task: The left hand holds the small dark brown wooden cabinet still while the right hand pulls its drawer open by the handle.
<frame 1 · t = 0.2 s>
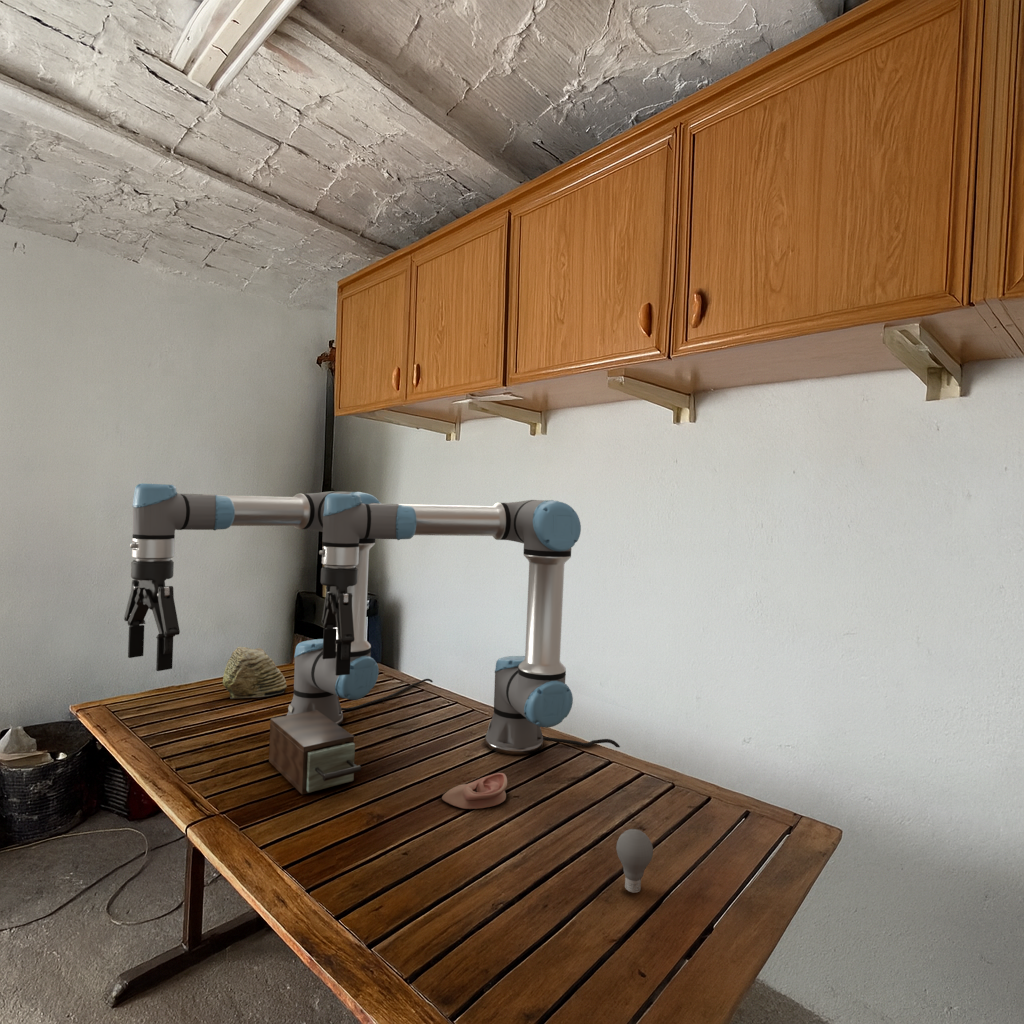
left hand: (149, 663, 129), 28 cm above the table, tool pointing down, fingers open, 13 cm apart
right hand: (335, 666, 134), 28 cm above the table, tool pointing down, fingers open, 13 cm apart
anatomical model: (474, 798, 136), on the table
fossil: (254, 694, 198), on the table
drawer: (319, 756, 142), point 5 cm above the table, slide at 0.7 cm
light bulb: (632, 891, 106), on the table
cabinet: (309, 771, 146), on the table
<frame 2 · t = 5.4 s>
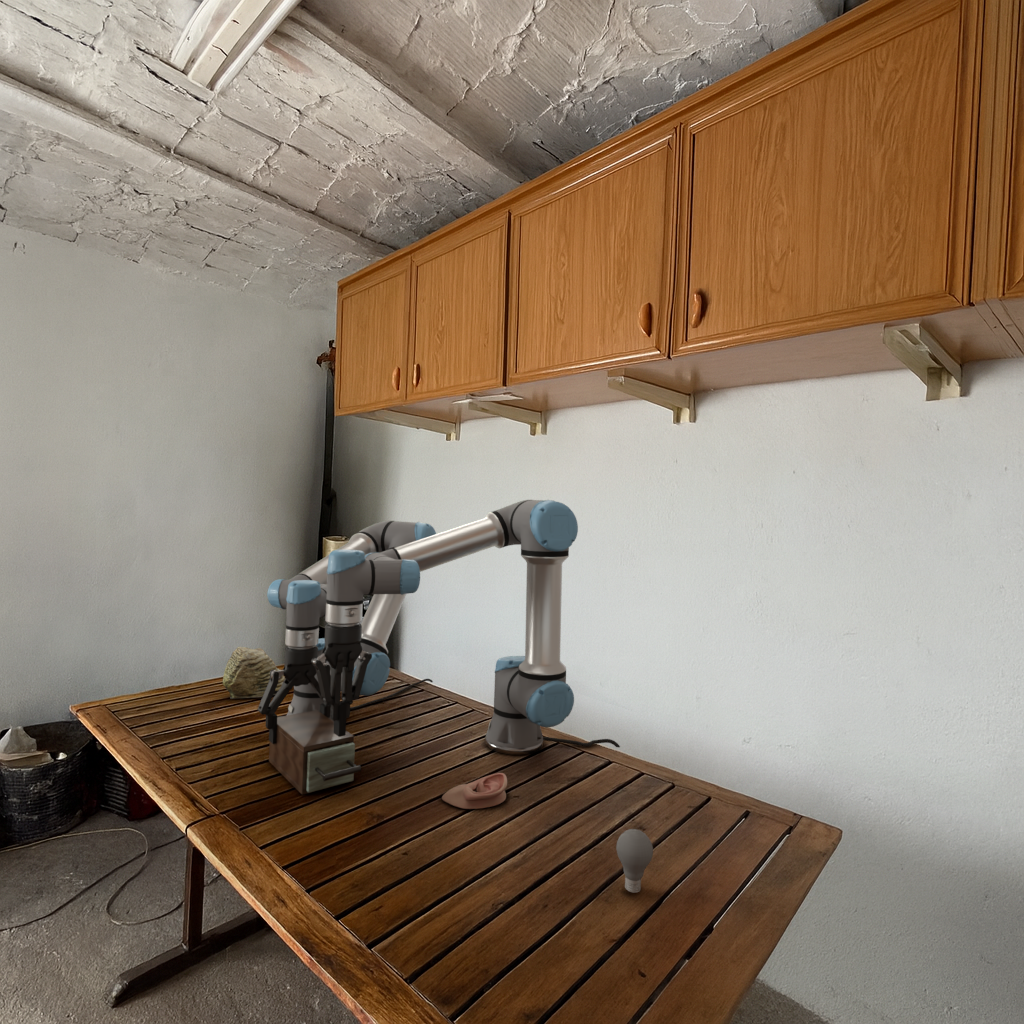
left hand: (298, 736, 151), 6 cm above the table, tool pointing down, fingers closed on cabinet, 11 cm apart
right hand: (339, 733, 134), 13 cm above the table, tool pointing down, fingers closed
cabinet: (309, 771, 146), on the table, touching left hand
everything else where it was.
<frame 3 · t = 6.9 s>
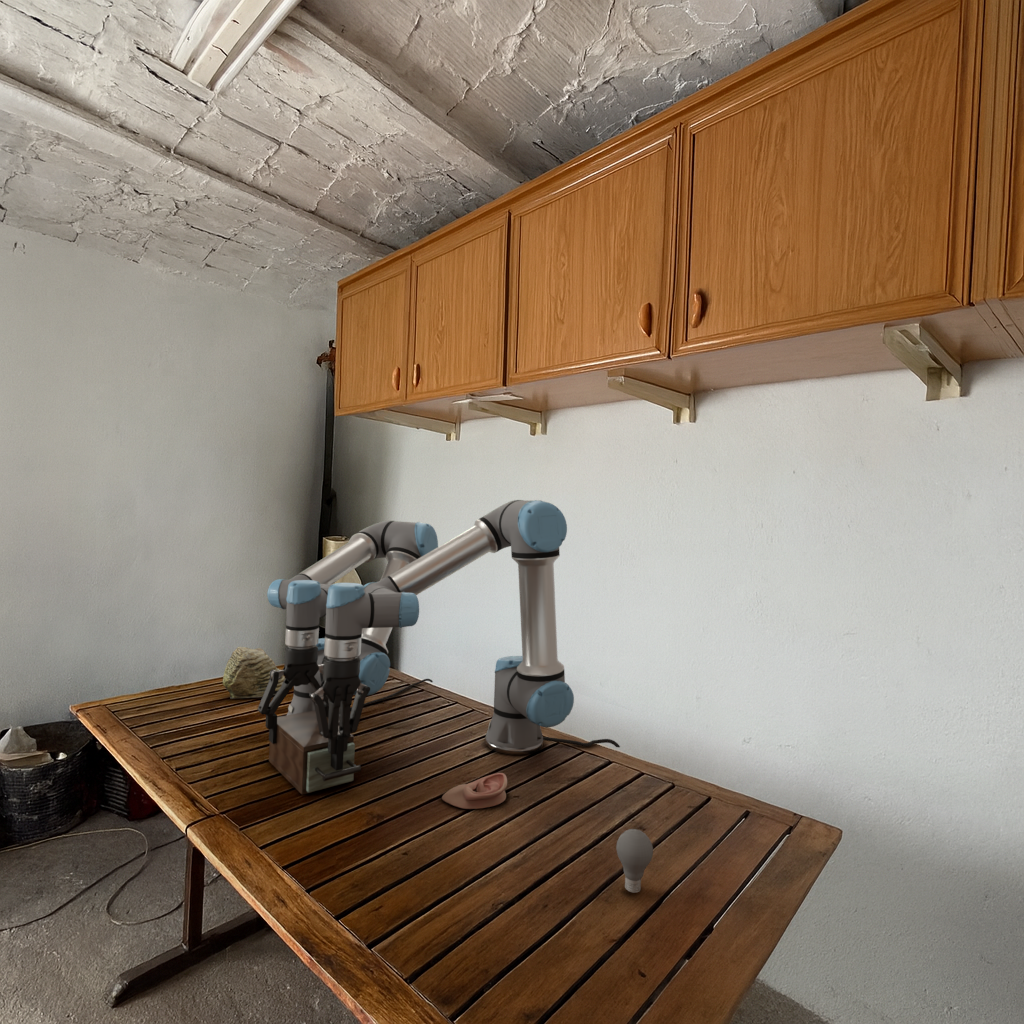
left hand: (298, 736, 151), 6 cm above the table, tool pointing down, fingers closed on cabinet, 11 cm apart
right hand: (336, 767, 134), 6 cm above the table, tool pointing down, fingers closed
drawer: (319, 756, 142), point 5 cm above the table, slide at 0.7 cm, touching right hand
cabinet: (309, 770, 146), on the table, touching left hand
everything else where it was.
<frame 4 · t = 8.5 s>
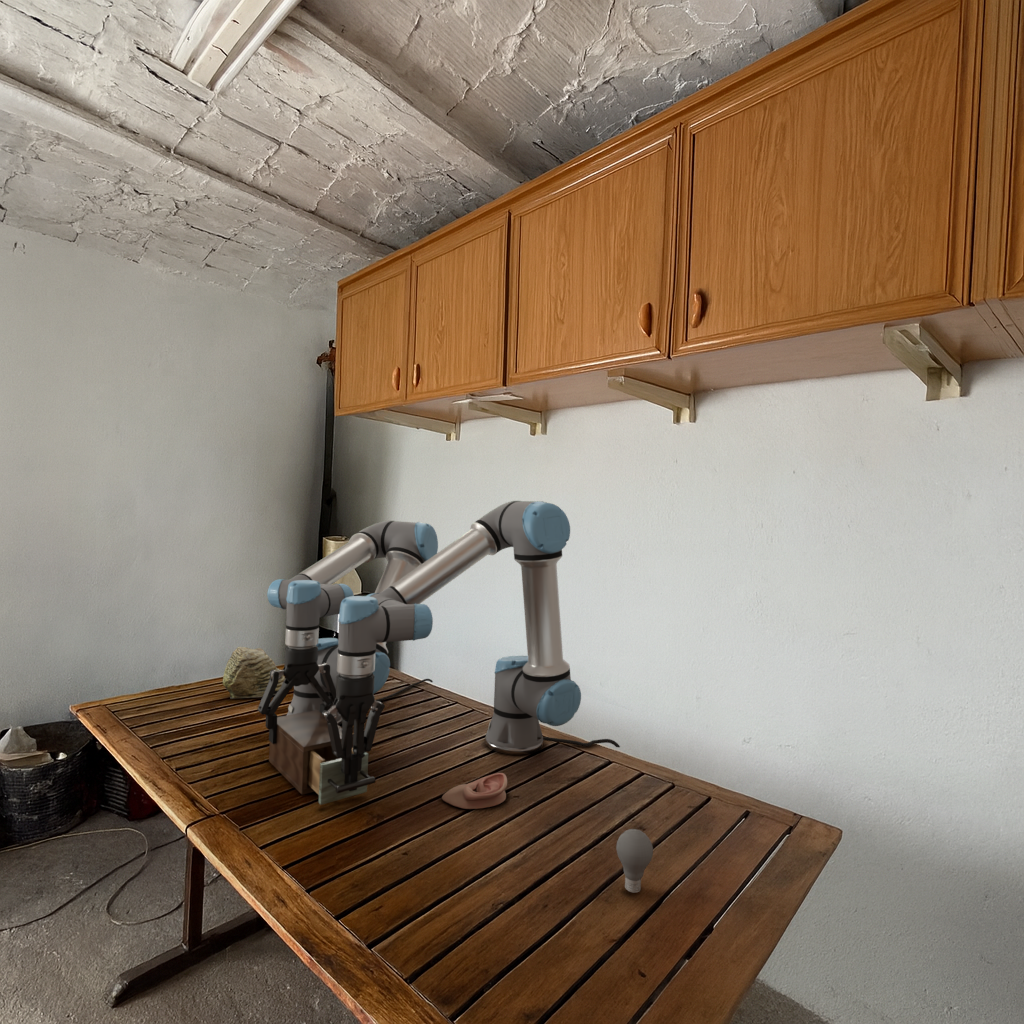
left hand: (298, 736, 151), 6 cm above the table, tool pointing down, fingers closed on cabinet, 11 cm apart
right hand: (350, 787, 129), 4 cm above the table, tool pointing down, fingers closed
drawer: (331, 767, 137), point 5 cm above the table, slide at 7.2 cm, touching right hand
cabinet: (309, 770, 146), on the table, touching left hand
everything else where it was.
when the left hand's fingers open (6 cm above the table, at t = 10.2 s): cabinet stays where it is, on the table.
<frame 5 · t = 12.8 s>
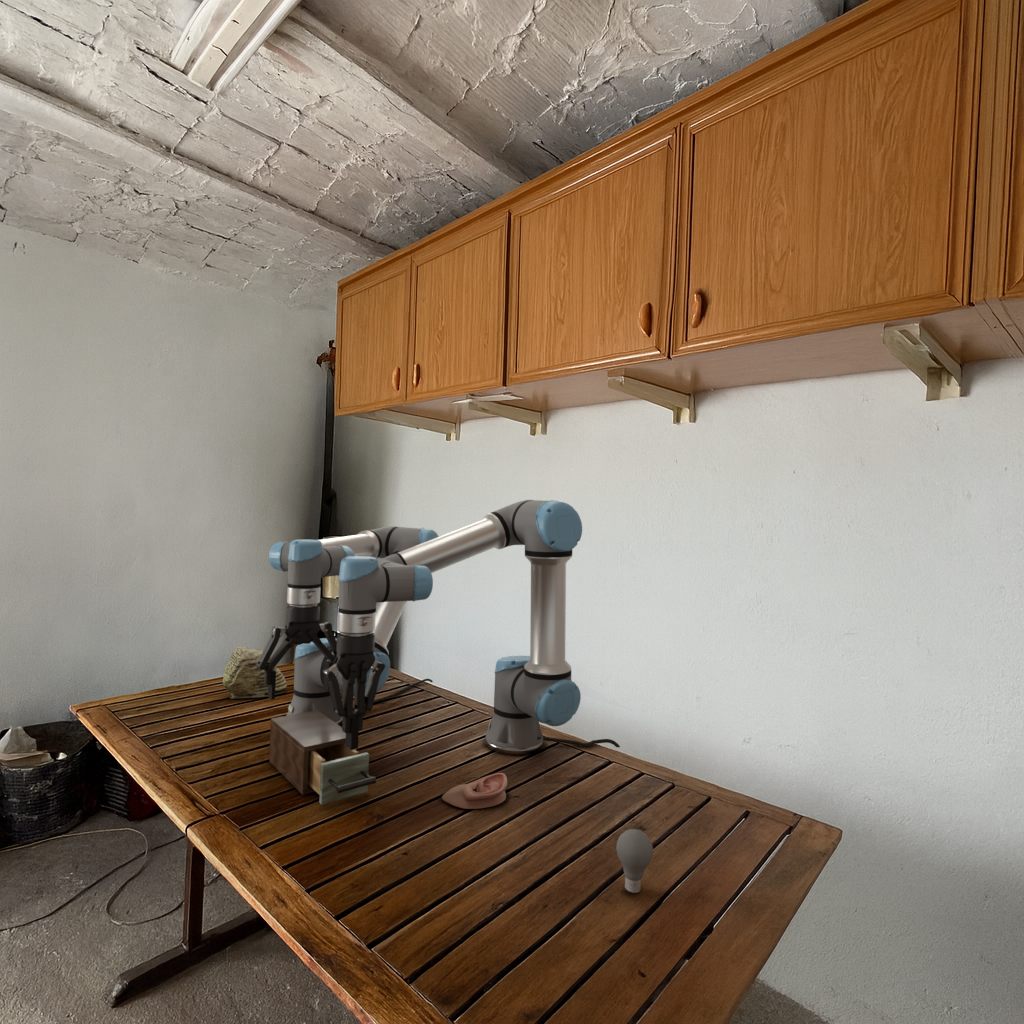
left hand: (300, 693, 151), 16 cm above the table, tool pointing down, fingers open, 13 cm apart
right hand: (351, 747, 130), 13 cm above the table, tool pointing down, fingers closed
drawer: (332, 767, 137), point 5 cm above the table, slide at 7.2 cm
cabinet: (309, 771, 146), on the table
everything else where it was.
at the end: drawer slide at 7.2 cm; cabinet tilted 0°; cabinet never tilted more than 1° during the clip; cabinet moved 0.1 cm from its start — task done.
